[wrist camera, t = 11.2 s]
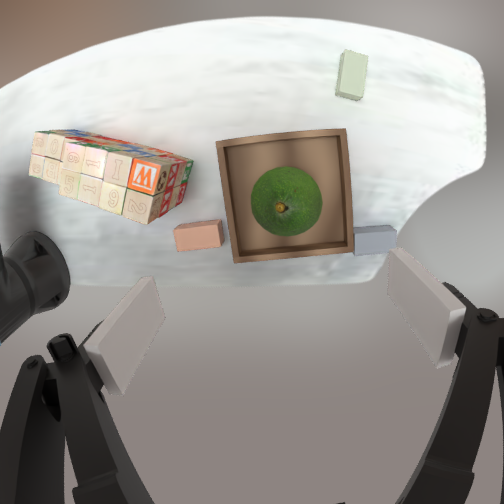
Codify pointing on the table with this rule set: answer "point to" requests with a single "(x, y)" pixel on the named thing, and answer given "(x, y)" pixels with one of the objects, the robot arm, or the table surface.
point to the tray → (291, 155)
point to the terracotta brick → (199, 235)
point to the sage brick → (351, 75)
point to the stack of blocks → (110, 173)
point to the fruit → (286, 201)
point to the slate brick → (374, 240)
